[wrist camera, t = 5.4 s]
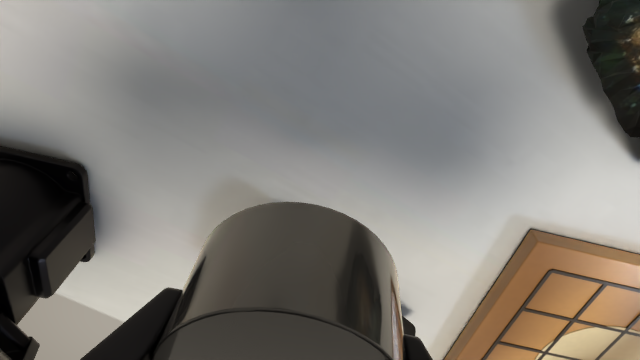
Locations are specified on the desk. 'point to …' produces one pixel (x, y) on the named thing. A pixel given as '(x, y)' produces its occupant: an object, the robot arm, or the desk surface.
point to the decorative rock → (618, 57)
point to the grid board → (558, 305)
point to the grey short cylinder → (288, 291)
